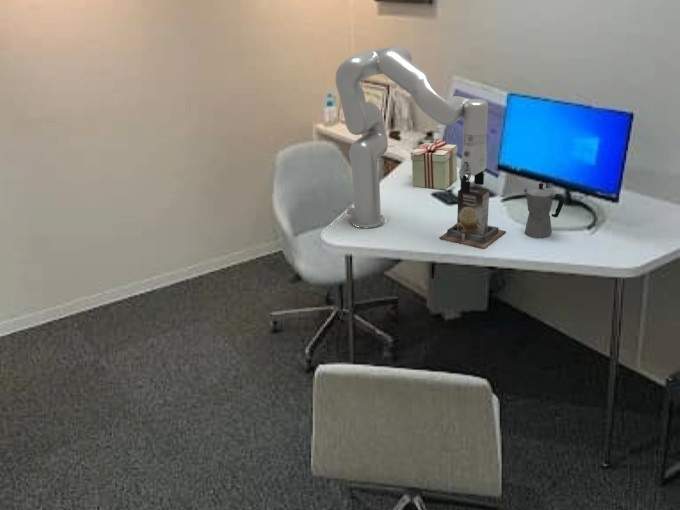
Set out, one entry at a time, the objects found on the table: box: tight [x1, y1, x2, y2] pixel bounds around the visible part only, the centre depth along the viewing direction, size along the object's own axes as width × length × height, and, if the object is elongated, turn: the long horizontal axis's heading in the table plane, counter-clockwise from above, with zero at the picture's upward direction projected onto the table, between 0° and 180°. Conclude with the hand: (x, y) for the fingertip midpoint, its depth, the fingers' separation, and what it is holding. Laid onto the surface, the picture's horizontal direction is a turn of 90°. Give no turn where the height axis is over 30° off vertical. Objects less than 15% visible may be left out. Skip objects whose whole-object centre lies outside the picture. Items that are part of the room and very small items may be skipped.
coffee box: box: [456, 185, 490, 236], centre depth 244 cm, size 9×6×16 cm
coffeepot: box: [523, 182, 565, 239], centre depth 243 cm, size 15×9×18 cm, turn 43°
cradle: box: [438, 223, 507, 250], centre depth 247 cm, size 17×16×3 cm
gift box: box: [410, 138, 458, 190], centre depth 297 cm, size 17×18×17 cm
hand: (472, 188), depth 241 cm, fingers open, 9 cm apart
